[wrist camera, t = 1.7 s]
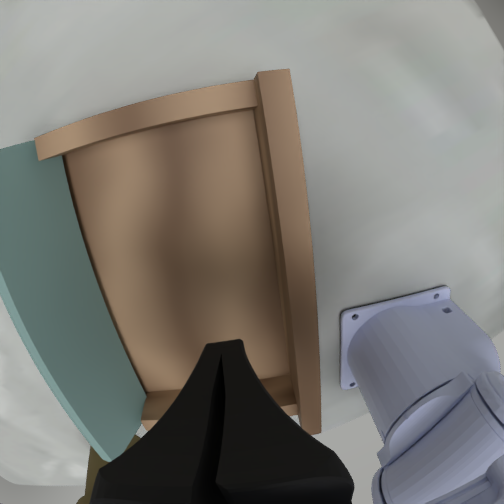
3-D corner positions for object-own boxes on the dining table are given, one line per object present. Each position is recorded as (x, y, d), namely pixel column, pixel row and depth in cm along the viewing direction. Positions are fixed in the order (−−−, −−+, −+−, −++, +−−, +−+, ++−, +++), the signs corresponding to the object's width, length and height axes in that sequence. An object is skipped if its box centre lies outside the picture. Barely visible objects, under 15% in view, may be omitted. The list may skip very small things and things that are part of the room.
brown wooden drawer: (268, 88, 17) (289, 68, 11) (302, 369, 24) (321, 432, 18) (59, 138, 17) (-3, 148, 11) (144, 389, 24) (129, 451, 18)
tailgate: (57, 135, 15) (-31, 158, 9) (152, 407, 22) (115, 464, 17) (45, 140, 15) (-39, 165, 10) (139, 404, 22) (102, 459, 17)
